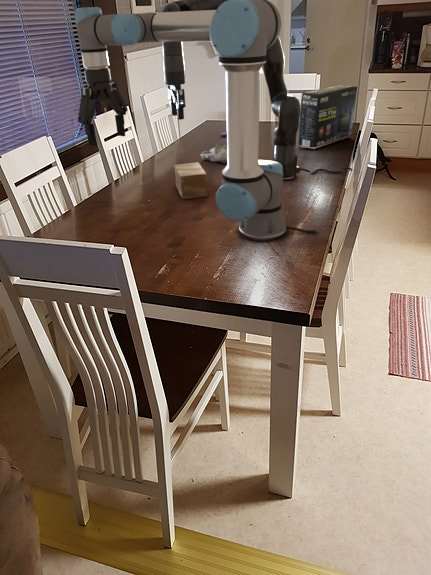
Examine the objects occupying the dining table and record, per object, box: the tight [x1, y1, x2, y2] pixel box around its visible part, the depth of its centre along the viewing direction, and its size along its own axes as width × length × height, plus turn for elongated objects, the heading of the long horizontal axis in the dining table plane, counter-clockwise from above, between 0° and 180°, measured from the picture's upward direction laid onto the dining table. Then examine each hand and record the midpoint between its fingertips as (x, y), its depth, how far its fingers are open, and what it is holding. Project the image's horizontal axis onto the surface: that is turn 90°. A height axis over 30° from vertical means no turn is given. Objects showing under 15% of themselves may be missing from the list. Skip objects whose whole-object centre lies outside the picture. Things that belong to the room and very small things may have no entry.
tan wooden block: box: [174, 162, 208, 200], centre depth 184 cm, size 16×10×9 cm, turn 13°
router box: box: [297, 84, 358, 151], centre depth 238 cm, size 36×11×27 cm, turn 134°
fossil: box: [200, 142, 227, 164], centre depth 224 cm, size 18×11×15 cm
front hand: (107, 140), depth 148 cm, fingers open, 13 cm apart
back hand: (177, 117), depth 171 cm, fingers open, 8 cm apart
